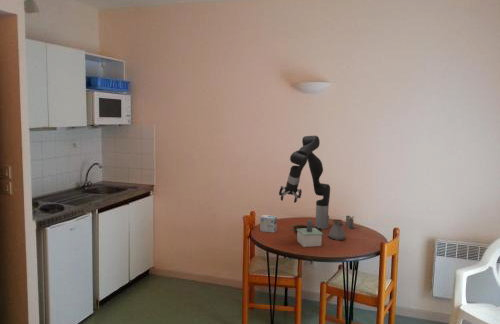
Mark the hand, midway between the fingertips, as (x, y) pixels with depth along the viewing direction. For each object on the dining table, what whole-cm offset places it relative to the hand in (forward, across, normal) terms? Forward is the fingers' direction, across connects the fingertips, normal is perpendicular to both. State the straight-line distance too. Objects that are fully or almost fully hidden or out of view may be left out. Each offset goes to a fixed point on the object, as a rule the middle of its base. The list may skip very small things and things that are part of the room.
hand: (288, 201), depth 262 cm
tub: (+19, -17, +18) cm, 31 cm away
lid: (+13, -16, +15) cm, 25 cm away
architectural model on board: (+32, -54, -23) cm, 67 cm away
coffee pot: (+19, -38, +10) cm, 44 cm away
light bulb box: (+34, +7, -8) cm, 36 cm away
